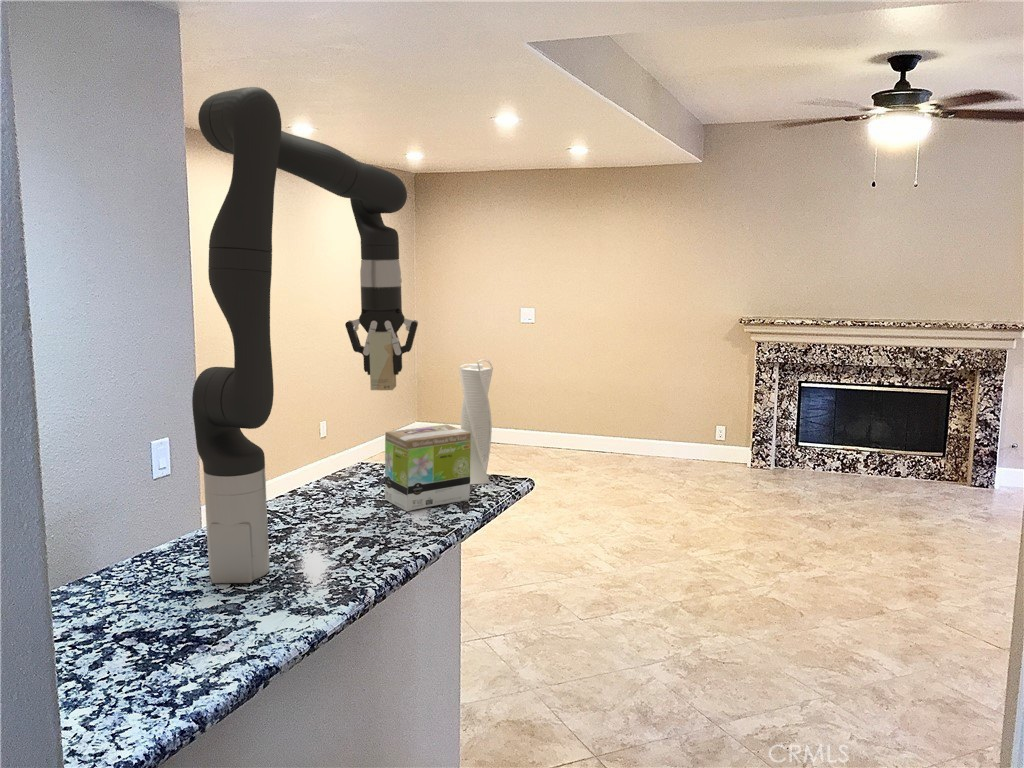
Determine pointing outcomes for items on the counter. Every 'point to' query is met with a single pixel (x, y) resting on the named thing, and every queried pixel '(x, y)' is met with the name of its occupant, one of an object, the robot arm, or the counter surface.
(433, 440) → the tea box
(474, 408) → the skyscraper
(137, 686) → the counter surface
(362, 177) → the robot arm
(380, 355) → the box
